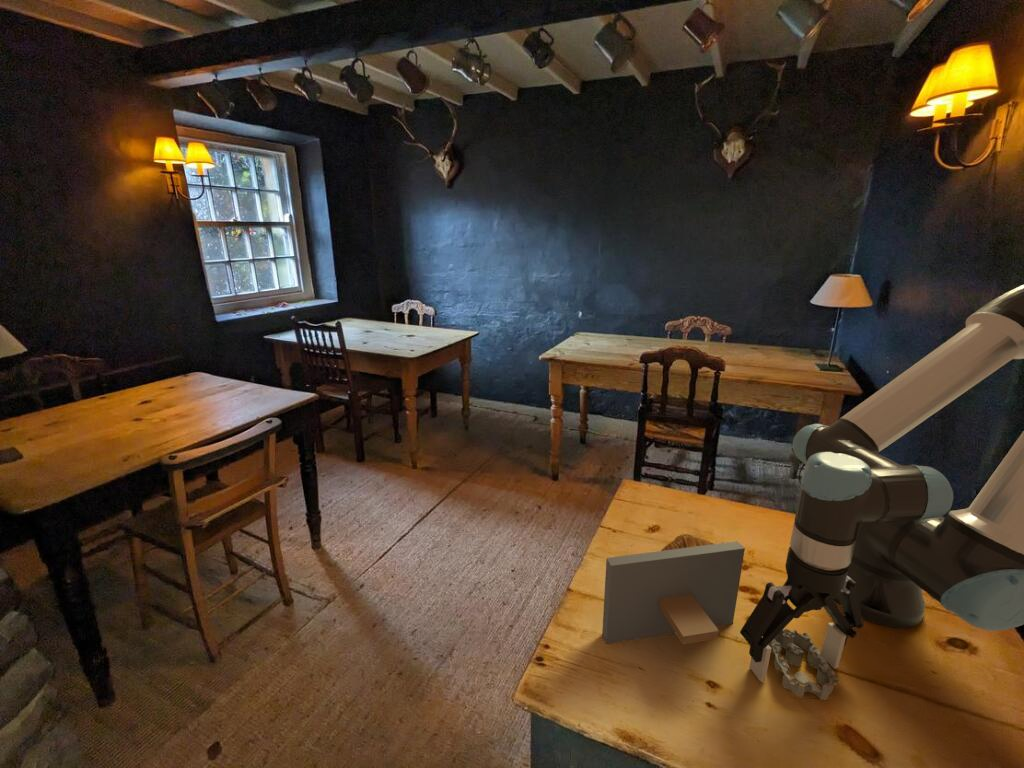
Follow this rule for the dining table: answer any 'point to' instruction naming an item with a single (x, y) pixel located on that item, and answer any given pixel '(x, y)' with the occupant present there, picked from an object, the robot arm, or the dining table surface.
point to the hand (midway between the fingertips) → (793, 667)
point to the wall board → (672, 593)
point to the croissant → (686, 542)
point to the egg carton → (795, 658)
